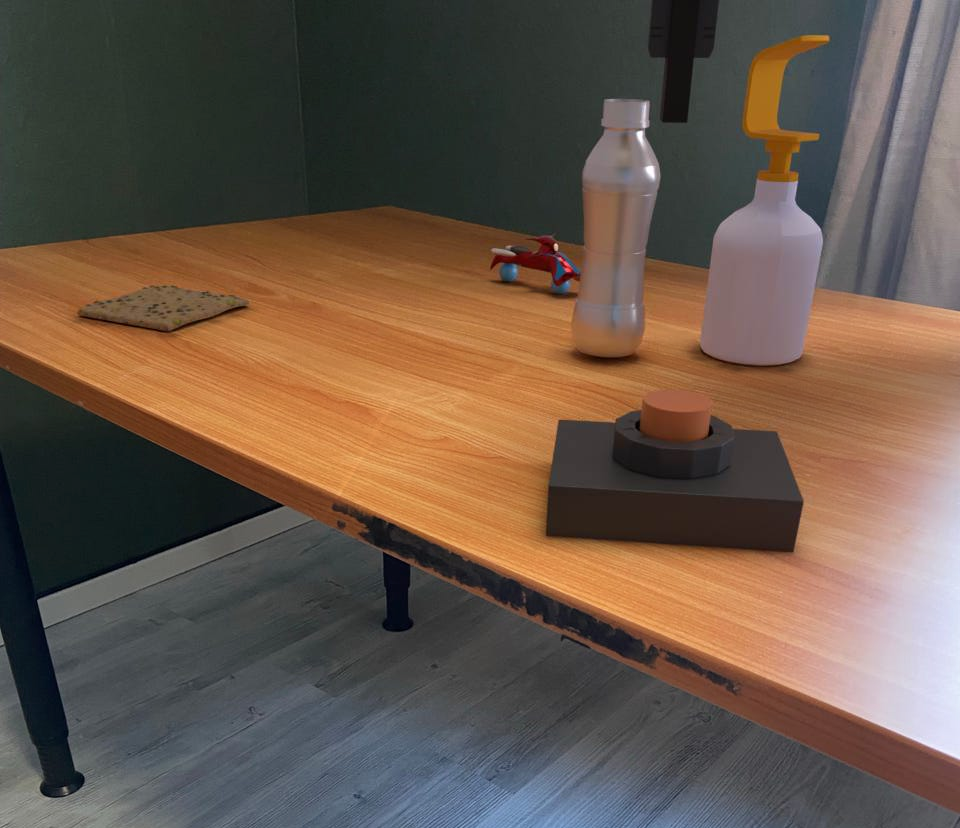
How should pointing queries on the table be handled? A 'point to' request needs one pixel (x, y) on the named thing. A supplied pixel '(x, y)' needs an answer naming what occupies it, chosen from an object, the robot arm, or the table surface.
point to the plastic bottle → (616, 232)
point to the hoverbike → (537, 262)
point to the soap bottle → (765, 239)
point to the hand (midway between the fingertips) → (673, 120)
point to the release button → (675, 415)
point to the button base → (672, 487)
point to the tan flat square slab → (161, 307)
